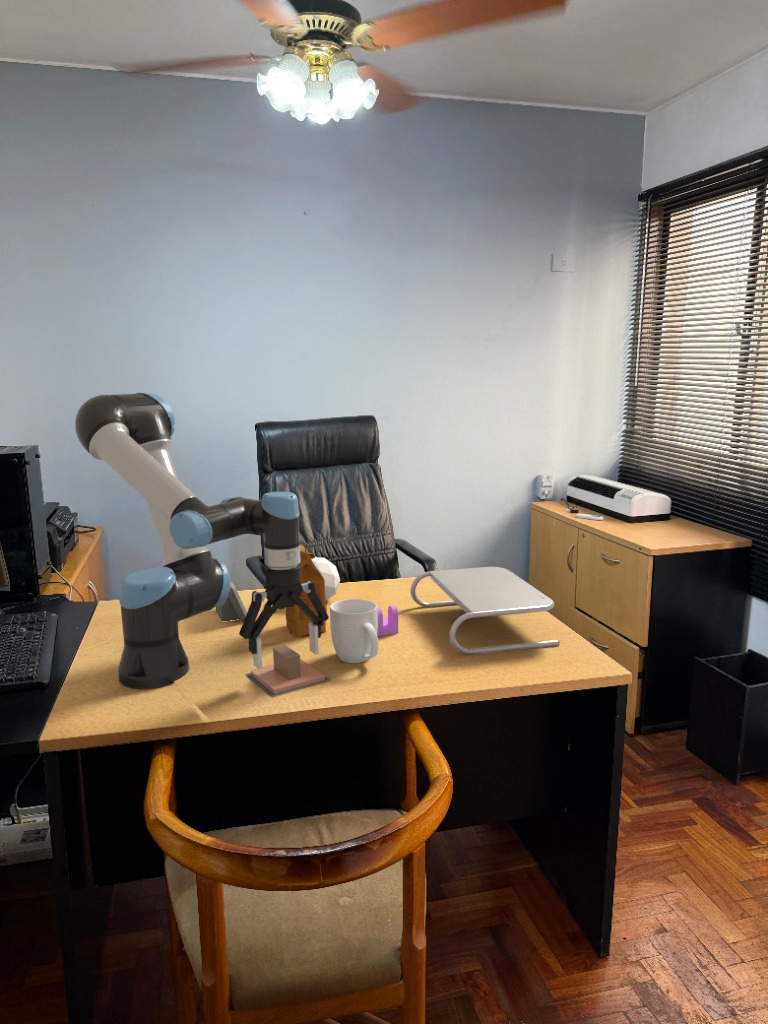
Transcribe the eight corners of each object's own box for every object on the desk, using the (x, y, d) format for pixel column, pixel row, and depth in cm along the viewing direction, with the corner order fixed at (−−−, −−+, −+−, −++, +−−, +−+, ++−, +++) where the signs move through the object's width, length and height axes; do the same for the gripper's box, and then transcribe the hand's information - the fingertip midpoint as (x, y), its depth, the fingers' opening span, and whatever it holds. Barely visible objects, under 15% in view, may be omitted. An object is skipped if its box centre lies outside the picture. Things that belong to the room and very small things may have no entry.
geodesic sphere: (335, 593, 199) (338, 547, 205) (286, 593, 200) (290, 547, 206) (341, 609, 212) (343, 566, 218) (295, 609, 213) (298, 566, 219)
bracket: (398, 633, 185) (398, 607, 183) (378, 636, 183) (377, 610, 182) (380, 617, 197) (380, 593, 195) (361, 620, 195) (360, 595, 193)
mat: (272, 700, 148) (272, 697, 148) (244, 676, 160) (244, 674, 159) (331, 682, 156) (331, 680, 156) (300, 661, 167) (300, 659, 167)
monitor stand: (560, 647, 175) (561, 604, 173) (450, 658, 169) (450, 614, 167) (502, 600, 211) (503, 564, 208) (409, 608, 204) (409, 571, 202)
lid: (274, 694, 149) (273, 667, 148) (250, 674, 159) (249, 649, 158) (324, 679, 156) (324, 653, 155) (298, 661, 166) (298, 637, 165)
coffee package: (319, 619, 195) (316, 540, 191) (330, 635, 184) (328, 551, 179) (282, 624, 192) (279, 544, 188) (291, 640, 181) (288, 555, 176)
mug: (396, 667, 164) (396, 612, 161) (355, 678, 158) (354, 622, 155) (362, 646, 176) (361, 595, 173) (322, 656, 170) (321, 604, 167)
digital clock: (249, 624, 193) (247, 585, 191) (215, 626, 191) (212, 588, 189) (248, 605, 208) (246, 569, 206) (216, 607, 207) (214, 571, 204)
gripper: (234, 579, 143) (239, 679, 147) (342, 559, 156) (344, 651, 161) (220, 571, 149) (225, 667, 153) (325, 552, 163) (327, 641, 167)
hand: (286, 659), depth 157 cm, fingers open, 13 cm apart
